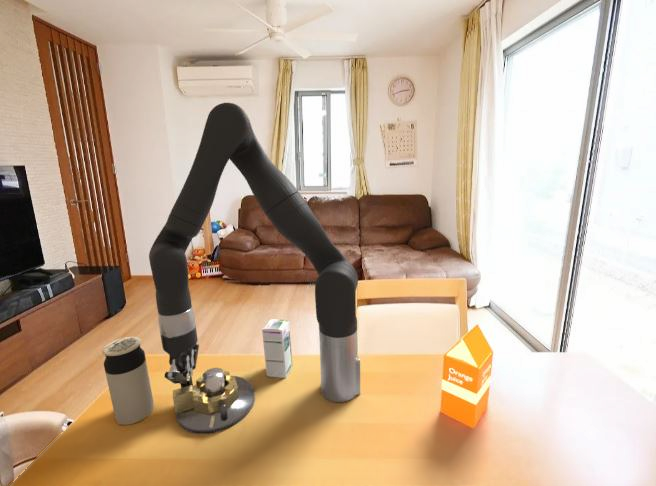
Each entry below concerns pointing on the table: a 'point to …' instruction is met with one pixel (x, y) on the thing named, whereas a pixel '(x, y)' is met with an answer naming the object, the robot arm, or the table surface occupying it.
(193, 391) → the ring nut
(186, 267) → the robot arm
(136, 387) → the travel mug
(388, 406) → the table surface
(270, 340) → the syrup box
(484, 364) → the orange juice
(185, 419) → the cap plate
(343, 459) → the table surface
